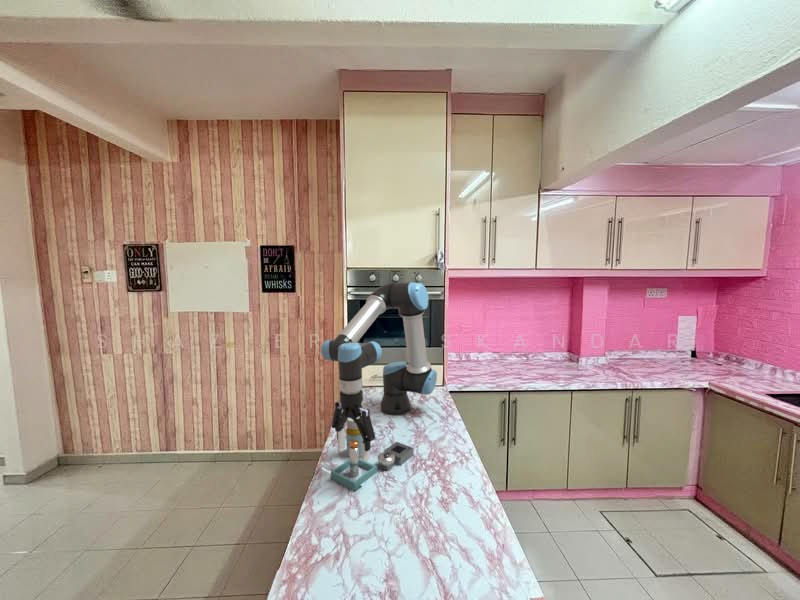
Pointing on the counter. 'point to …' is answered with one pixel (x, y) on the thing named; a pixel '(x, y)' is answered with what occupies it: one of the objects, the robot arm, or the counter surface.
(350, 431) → the bottle
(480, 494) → the counter surface
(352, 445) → the pin
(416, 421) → the counter surface
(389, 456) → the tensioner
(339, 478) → the tray
